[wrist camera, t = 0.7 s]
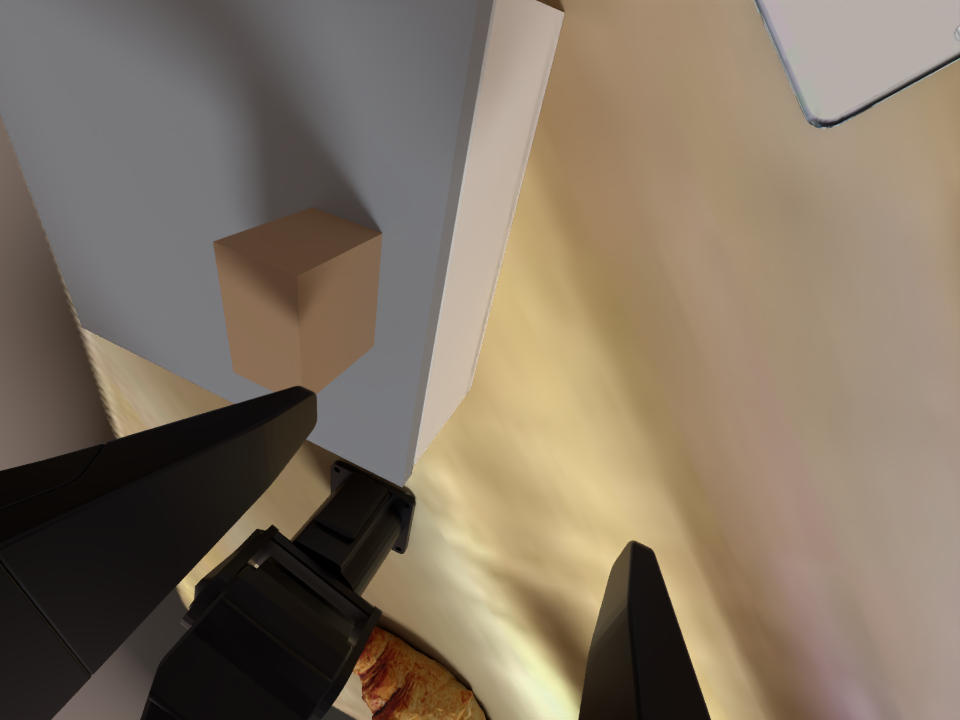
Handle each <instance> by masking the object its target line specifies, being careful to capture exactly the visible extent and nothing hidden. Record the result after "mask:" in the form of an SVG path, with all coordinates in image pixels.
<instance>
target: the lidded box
mask: <svg viewBox="0 0 960 720" xmlns="http://www.w3.org/2000/svg"><path fill="white" fill-rule="evenodd" d="M564 14H565V13H564V12H562V11H560V10H557V9H555V8H553V7H550V6H548V5H546V4H543V3H541V2H539V1H536V0H493V5H492V11H491V17H490V23H489V28H488V34H487V40H486V46H485V52H484V57H483V63H482V69H481V75H480V81H479V87H478V92H477V98H476V104H475V110H474V116H473V121H472V127H471V133H470V139H469V145H468V150H467V156H466V162H465V168H464V174H463V179H462V185H461V191H460V197H459V203H458V208H457V214H456V220H455V226H454V232H453V237H452V243H451V249H450V255H449V261H448V266H447V272H446V278H445V284H444V290H443V295H442V301H441V307H440V313H439V319H438V324H437V330H436V336H435V342H434V348H433V353H432V359H431V365H430V371H429V377H428V382H427V388H426V394H425V400H424V406H423V411H422V417H421V423H420V429H419V435H418V441H417V446H416V452H415V458H414V464H416V463H417V461H418V460H419V459H420V457H421V456H422V455H423V453H424V452H425V450H426V449H427V448H428V446H429V445H430V444H431V442H432V441H433V440H434V438H435V437H436V435H437V434H438V433H439V431H440V430H441V429H442V427H443V426H444V424H445V423H446V422H447V420H448V419H449V418H450V416H451V415H452V414H453V412H454V411H455V409H456V408H457V407H458V405H459V404H460V403H461V401H462V400H463V398H464V397H465V396H466V394H467V393H468V392H469V390H470V389H471V387H472V383H473V379H474V375H475V371H476V367H477V363H478V359H479V355H480V351H481V347H482V343H483V339H484V335H485V331H486V327H487V323H488V319H489V315H490V311H491V307H492V303H493V299H494V295H495V291H496V287H497V283H498V279H499V275H500V271H501V267H502V263H503V259H504V255H505V251H506V247H507V242H508V238H509V234H510V230H511V226H512V222H513V218H514V214H515V210H516V206H517V202H518V198H519V194H520V190H521V186H522V182H523V178H524V174H525V170H526V166H527V162H528V158H529V154H530V150H531V146H532V142H533V138H534V134H535V130H536V126H537V122H538V118H539V114H540V110H541V106H542V102H543V98H544V94H545V90H546V86H547V82H548V78H549V74H550V70H551V66H552V62H553V58H554V54H555V50H556V46H557V42H558V38H559V34H560V30H561V26H562V22H563V18H564Z"/></svg>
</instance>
